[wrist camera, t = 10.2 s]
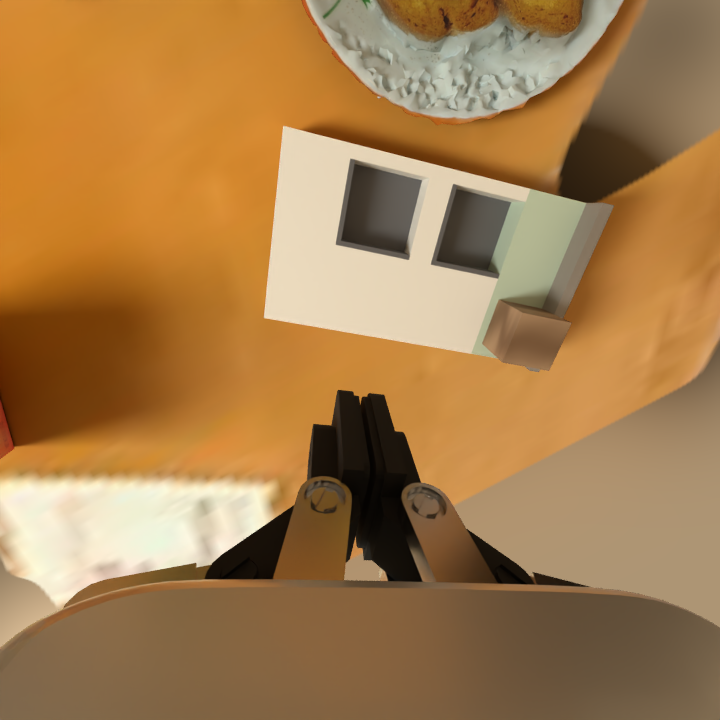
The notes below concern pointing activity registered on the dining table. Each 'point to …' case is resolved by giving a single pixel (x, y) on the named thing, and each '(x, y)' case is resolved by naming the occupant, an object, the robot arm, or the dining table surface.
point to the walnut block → (525, 335)
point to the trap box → (416, 245)
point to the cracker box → (4, 435)
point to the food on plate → (460, 49)
